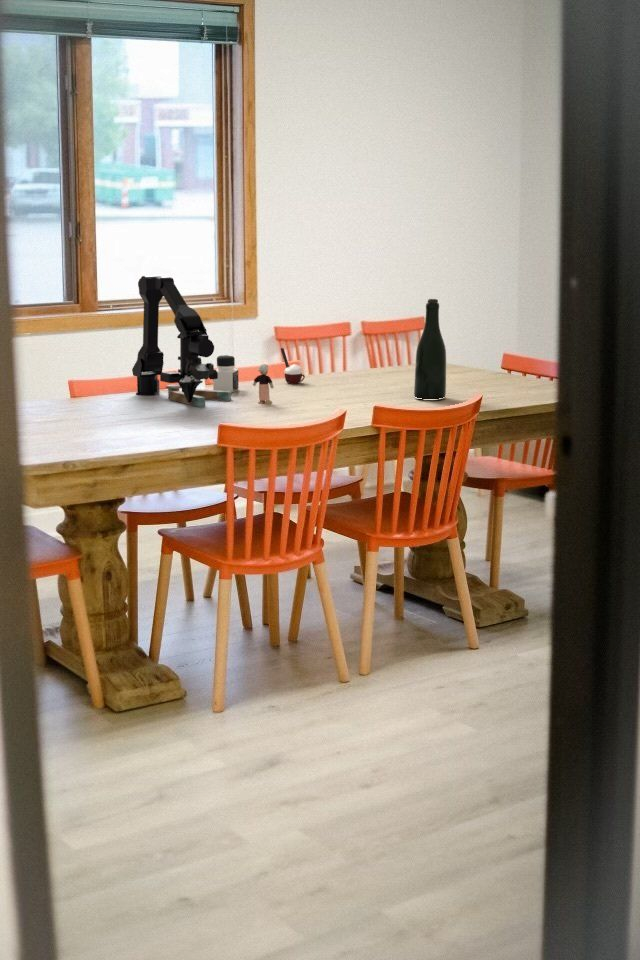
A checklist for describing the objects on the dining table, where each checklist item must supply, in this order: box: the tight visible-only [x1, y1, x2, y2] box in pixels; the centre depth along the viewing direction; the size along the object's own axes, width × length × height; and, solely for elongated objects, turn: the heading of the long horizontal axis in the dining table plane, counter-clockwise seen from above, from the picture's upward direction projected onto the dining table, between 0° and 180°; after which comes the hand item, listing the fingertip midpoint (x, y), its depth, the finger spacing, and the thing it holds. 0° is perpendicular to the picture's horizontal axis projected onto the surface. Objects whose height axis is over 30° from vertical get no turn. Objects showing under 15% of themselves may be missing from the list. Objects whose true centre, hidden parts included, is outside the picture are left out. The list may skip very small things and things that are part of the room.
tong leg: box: [170, 390, 206, 408], centre depth 395 cm, size 16×2×3 cm, turn 40°
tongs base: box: [165, 384, 232, 402], centre depth 402 cm, size 22×6×4 cm, turn 74°
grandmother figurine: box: [252, 363, 274, 405], centre depth 395 cm, size 8×4×13 cm, turn 71°
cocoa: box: [280, 347, 306, 385], centre depth 434 cm, size 10×6×12 cm, turn 38°
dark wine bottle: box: [413, 298, 447, 399], centre depth 403 cm, size 10×10×33 cm
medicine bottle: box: [212, 354, 239, 394], centre depth 418 cm, size 7×7×12 cm
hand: (189, 402), depth 390 cm, fingers closed
